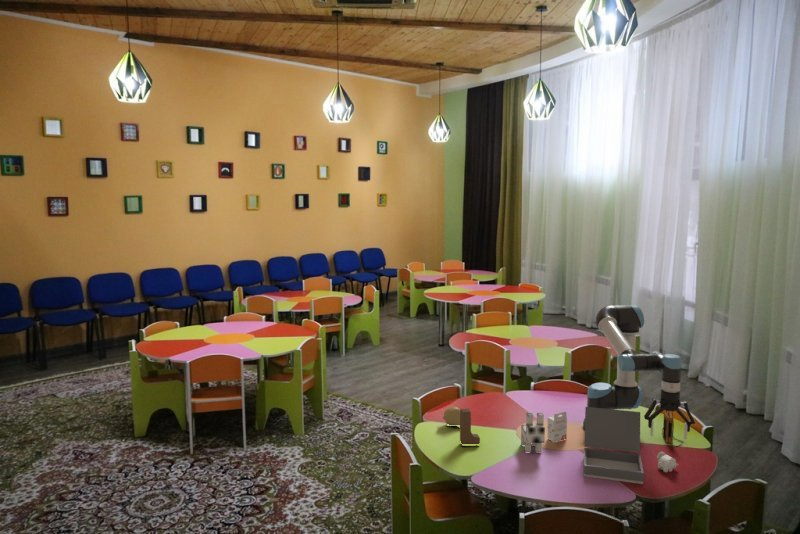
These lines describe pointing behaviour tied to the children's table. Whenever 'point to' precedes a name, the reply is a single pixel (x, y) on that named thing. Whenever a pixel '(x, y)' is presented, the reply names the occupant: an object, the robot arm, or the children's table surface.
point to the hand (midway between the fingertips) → (668, 436)
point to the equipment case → (613, 465)
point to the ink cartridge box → (557, 427)
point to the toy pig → (452, 416)
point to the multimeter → (668, 428)
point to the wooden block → (467, 428)
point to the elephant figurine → (666, 462)
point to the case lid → (612, 429)
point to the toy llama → (533, 432)
